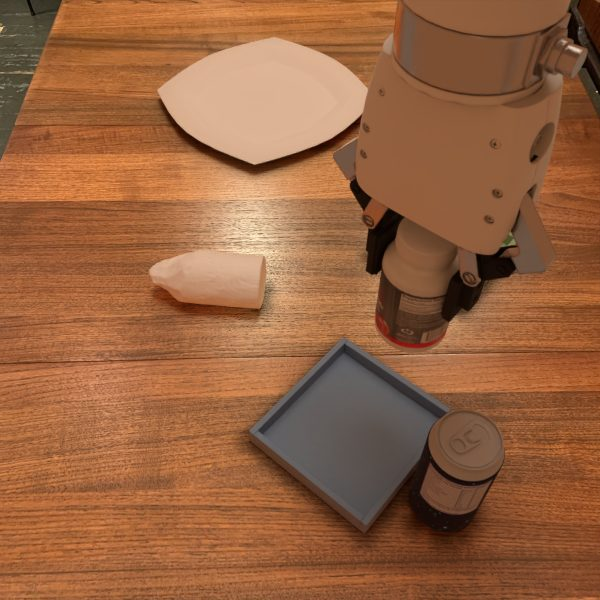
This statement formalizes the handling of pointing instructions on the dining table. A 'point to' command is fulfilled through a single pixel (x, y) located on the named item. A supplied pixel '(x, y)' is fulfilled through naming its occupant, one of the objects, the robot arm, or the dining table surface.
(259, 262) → the pale pink bottle
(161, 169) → the dining table surface
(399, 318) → the pill bottle
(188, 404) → the dining table surface
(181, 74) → the plate
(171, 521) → the dining table surface
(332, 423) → the blue tray
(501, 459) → the beverage can
